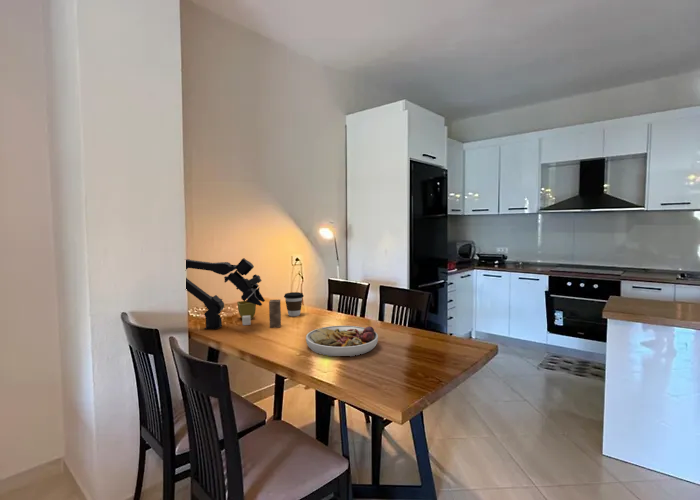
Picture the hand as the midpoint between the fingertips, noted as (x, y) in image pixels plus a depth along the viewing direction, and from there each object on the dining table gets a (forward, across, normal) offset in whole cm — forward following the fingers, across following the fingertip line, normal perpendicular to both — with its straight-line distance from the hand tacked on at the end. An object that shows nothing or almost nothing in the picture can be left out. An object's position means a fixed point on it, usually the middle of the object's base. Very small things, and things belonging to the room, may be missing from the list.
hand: (262, 303), depth 188 cm
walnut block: (+12, 0, +4) cm, 13 cm away
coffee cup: (+18, +22, -1) cm, 29 cm away
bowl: (+35, -34, -18) cm, 52 cm away
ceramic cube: (+2, +6, +15) cm, 16 cm away
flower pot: (0, +17, +17) cm, 24 cm away
